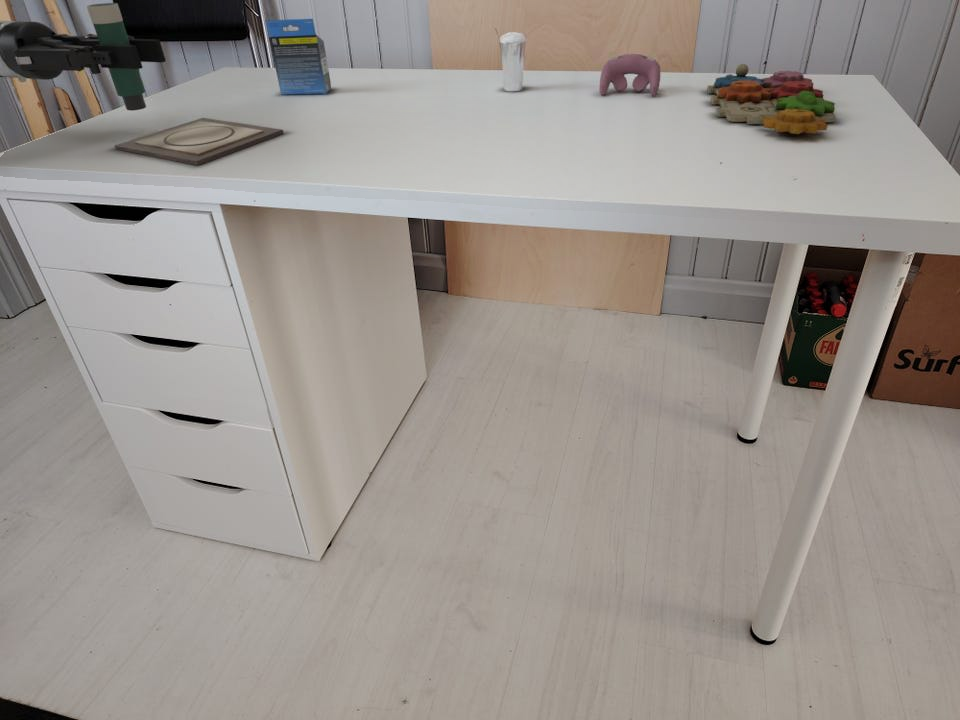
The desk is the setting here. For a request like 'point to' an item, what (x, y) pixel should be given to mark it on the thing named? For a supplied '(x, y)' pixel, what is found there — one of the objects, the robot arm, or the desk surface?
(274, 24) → the tape cartridge
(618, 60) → the video game controller
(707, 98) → the desk surface
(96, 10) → the marker
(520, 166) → the desk surface
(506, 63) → the milkshake
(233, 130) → the picture frame
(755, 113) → the gear puzzle
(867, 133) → the desk surface
